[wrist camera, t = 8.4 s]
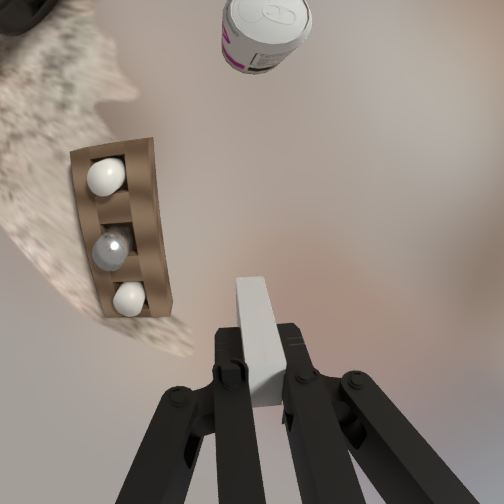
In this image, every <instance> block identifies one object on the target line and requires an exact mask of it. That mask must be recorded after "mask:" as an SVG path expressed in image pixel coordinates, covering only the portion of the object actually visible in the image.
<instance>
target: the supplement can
mask: <svg viewBox="0 0 504 504" xmlns="http://www.w3.org/2000/svg"><path fill="white" fill-rule="evenodd" d="M311 27H312V17H311V11H310V9H309V6H308V4H307V2H306V0H227V2H226V4H225V7H224V9H223V21H222V53H223V56H224V58H225V60H226V62H227V63H229V64H230V65H231V66H232V67H233V68H234V69H236V70H238V71H240V72H242V73H247V74H254V75H255V74H260V73H265V72H268V71H269V70H271V69H273V68H275V67H276V66H277V65H278V64H279V63H280V62H281V61H283V60H284V59H285V58H286V57H287V56H288V55H289V54H290V53H292V51H294V50H295V49H296V48H297V47H298V46H299V45H300V44H301V43H302V42H303V41H304V40H305V39H306V38H307V37H308V35H309V32H310V29H311Z"/></svg>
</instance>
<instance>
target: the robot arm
mask: <svg viewBox="0 0 504 504" xmlns="http://www.w3.org/2000/svg"><path fill="white" fill-rule="evenodd" d="M57 1H58V0H0V34H3V35H7V36H16V35H19V34H22V33H24V32H26V31H28V30H29V29H31V28H32V27H34V26H35V25H36V24H37V23H39V22H40V21H41V20H42V19H43V18H44V17H45V16H46V15H47V14H48V13H49V12H50V10H51V9H52V8H53V7H54V5H55V4H56V3H57ZM236 301H237V302H236V303H237V324H238V327H229V328H219V329H218V331H217V332H216V334H215V364H214V366H213V369H212V372H213V381H212V382H211V383H210V384H209V385H207V386H206V387H204V388H201V389H198V390H194V391H192V390H191V389H190V388H187V387H184V386H176V387H172V388H170V389H168V390H167V391H166V392H165V393H164V394H163V395H162V398H161V400H160V402H159V404H158V406H157V409H156V411H155V413H154V415H153V418H152V420H151V422H150V424H149V427H148V429H147V431H146V433H145V436H144V438H143V440H142V442H141V445H140V447H139V449H138V451H137V454H136V456H135V459H134V461H133V463H132V465H131V468H130V470H129V472H128V474H127V477H126V479H125V481H124V484H123V486H122V488H121V491H120V493H119V495H118V498H117V500H116V503H115V504H184V501H185V498H186V495H187V492H188V488H189V485H190V482H191V478H192V475H193V472H194V468H195V465H196V462H197V458H198V455H199V452H200V448H201V445H202V442H203V438H204V436H205V435H209V434H212V433H215V436H216V462H217V481H218V498H219V504H266V501H265V493H264V487H263V481H262V474H261V467H260V460H259V453H258V446H257V439H256V432H255V425H254V418H253V410H252V407H264V406H274V405H281V402H282V401H283V405H284V410H283V418H282V424H284V423H285V426H286V431H287V435H288V440H289V445H290V449H291V454H292V459H293V463H294V468H295V472H296V477H297V482H298V486H299V491H300V496H301V500H302V504H366V502H365V499H364V496H363V493H362V490H361V487H360V484H359V481H358V478H357V475H356V473H355V470H354V466H353V464H352V461H351V458H350V455H349V452H348V450H349V451H350V453H351V454H352V456H353V457H354V459H355V460H356V461H357V463H358V464H359V466H360V467H361V469H362V470H363V472H364V473H365V474H366V476H367V477H368V479H369V480H370V482H371V483H372V484H373V486H374V487H375V489H376V490H377V491H378V493H379V494H380V496H381V497H382V498H383V500H384V501H385V503H386V504H480V503H479V502H478V501H477V500H476V499H475V498H474V496H473V495H472V494H471V493H470V492H469V490H468V489H467V488H466V487H465V486H464V485H463V483H462V482H461V481H460V480H459V479H458V478H457V476H456V475H455V474H454V473H453V472H452V471H451V470H450V468H449V467H448V466H447V465H446V464H445V462H444V461H443V460H442V459H441V458H440V457H439V456H438V454H437V453H436V452H435V451H434V450H433V449H432V447H431V446H430V445H429V444H428V443H427V442H426V440H425V439H424V438H423V437H422V436H421V435H420V434H419V433H418V431H417V430H416V429H415V428H414V427H413V425H412V424H411V423H410V422H409V421H408V420H407V419H406V417H405V416H404V415H403V414H402V413H401V412H400V411H399V410H398V408H397V407H396V406H395V405H394V404H393V402H392V401H391V400H390V399H389V398H388V397H387V396H386V394H385V393H384V392H383V391H382V390H381V389H380V388H379V386H378V385H377V384H376V383H375V382H374V381H373V380H372V378H371V377H370V376H369V375H367V374H366V373H364V372H361V371H349V372H347V373H346V374H344V375H343V377H342V378H336V377H328V376H325V375H322V374H320V372H319V371H318V370H317V369H315V368H314V367H313V365H312V362H311V359H310V357H309V354H308V351H307V348H306V345H305V344H304V340H303V338H302V334H301V331H300V329H299V328H298V327H297V326H296V325H295V324H294V323H285V324H276V322H275V318H274V315H273V311H272V307H271V303H270V300H269V296H268V292H267V288H266V285H265V281H264V277H242V278H236Z"/></svg>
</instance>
